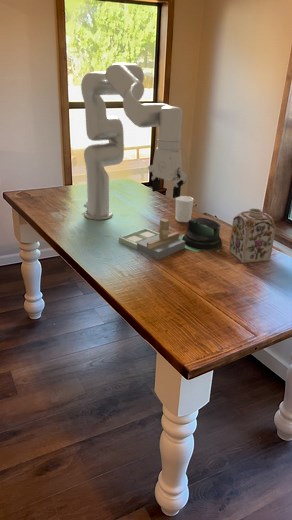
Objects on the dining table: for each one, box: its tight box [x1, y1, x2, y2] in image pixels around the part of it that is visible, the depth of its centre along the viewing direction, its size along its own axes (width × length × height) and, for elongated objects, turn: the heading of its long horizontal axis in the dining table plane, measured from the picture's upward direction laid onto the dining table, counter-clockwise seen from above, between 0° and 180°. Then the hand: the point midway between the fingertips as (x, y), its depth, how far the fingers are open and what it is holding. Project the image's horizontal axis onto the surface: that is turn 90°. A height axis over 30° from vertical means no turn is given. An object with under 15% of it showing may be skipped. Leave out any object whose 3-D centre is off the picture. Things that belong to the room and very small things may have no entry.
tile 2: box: [139, 232, 155, 240], centre depth 170 cm, size 4×4×2 cm
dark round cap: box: [178, 217, 223, 253], centre depth 167 cm, size 20×20×9 cm
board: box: [136, 235, 186, 260], centre depth 161 cm, size 11×15×3 cm
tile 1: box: [126, 236, 143, 244], centre depth 165 cm, size 4×4×2 cm
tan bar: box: [147, 218, 180, 249], centre depth 158 cm, size 2×16×9 cm, turn 135°
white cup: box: [174, 195, 195, 223], centre depth 189 cm, size 8×8×10 cm
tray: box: [118, 227, 159, 251], centre depth 167 cm, size 10×15×2 cm, turn 136°
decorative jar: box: [228, 208, 277, 264], centre depth 155 cm, size 12×12×18 cm
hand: (165, 194), depth 151 cm, fingers open, 9 cm apart
